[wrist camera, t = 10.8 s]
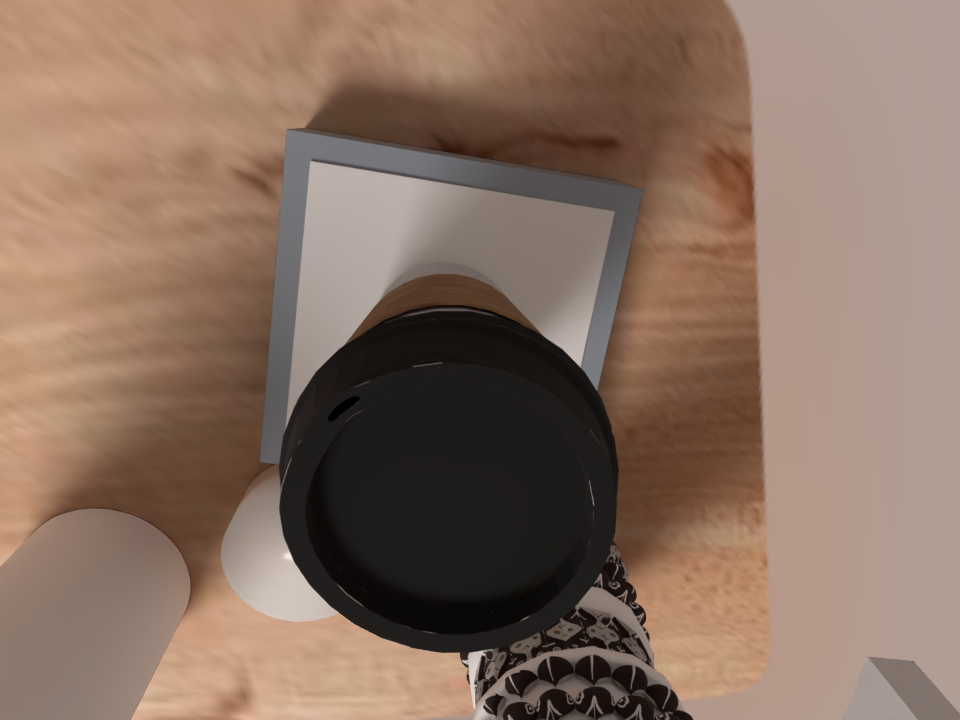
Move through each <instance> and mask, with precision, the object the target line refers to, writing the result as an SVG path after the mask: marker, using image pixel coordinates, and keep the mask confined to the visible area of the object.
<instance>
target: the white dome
mask: <svg viewBox="0 0 960 720" xmlns="http://www.w3.org/2000/svg"><path fill="white" fill-rule="evenodd" d="M280 492H281V487H280V476H279V464H275V465H272V466H271V467H269V468H267V469H266V470H264V471H263V472H262V473H260V474H259V475H258V476H257V477H256V478H255V479H254V480H253V481H252V483H251V484H250V486H249V487H248V488H247V490H246V492H245V494H244V496H243V498H242V500H241V502H240V504H239V506H238V508H237V510H236V512H235V514H234V516H233V518H232V520H231V522H230V524H229V526H228V528H227V530H226V532H225V535H224V538H223V541H222V547H221V562H222V568H223V571H224V574H225V577H226V579H227V581H228V583H229V585H230V586H231V587H232V589H233V590H234V592H235V593H236V594H237V595H238V596H239V597H240V598H241V599H242V600H243V601H244V602H245V603H246V604H248V605H249V606H251V607H252V608H254V609H255V610H257V611H259V612H261V613H263V614H265V615H268V616H270V617H273V618H277V619H281V620H286V621H297V622H304V621H314V620H320V619H323V618H327V617H330V616H332V615H334V614H337V613H339V612H337V611H336V610H335V609H333V608H332V607H330V606H329V605H328V604H327V603H326V601H325V600H324V599H323V598H322V597H321V596H320V595H319V594H318V593H317V592H316V591H315V590H314V589H313V588H312V587H311V586H310V585H309V583H308V582H307V581H306V579H305V578H304V576H303V575H302V573H301V572H300V570H299V569H298V567H297V566H296V564H295V563H294V561H293V559H292V556H291V554H290V551H289V549H288V546H287V544H286V542H285V539H284V537H283V531H282V525H281V519H280V513H279V503H280Z"/></svg>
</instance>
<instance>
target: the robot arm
mask: <svg viewBox="0 0 960 720" xmlns="http://www.w3.org/2000/svg"><path fill="white" fill-rule="evenodd" d="M843 720H960V714H959V712H958V711H957V710H956V709H955V708H954V707H953V706H952V704H950V702H949V701H948V700H947V699H946V698H945V697H944V695H943V694H942V693H941V692H940V691H939V690H938V688H937V687H936V686H935V685H934V684H933V683H932V682H931V680H930V679H929V678H928V677H927V676H926V675H925V674H924V672H922V670H921V669H920V668H919V667H918V666H917V665H916V663H915V662H914V661H906V660H896V659H885V658H875V657H867V660H866V662H865V665H864V667H863V670H862V672H861V675H860V677H859V680H858V682H857V685H856V687H855V690H854V692H853V695H852V697H851V700H850V702H849V705H848V707H847V710H846V712H845V715H844V717H843Z"/></svg>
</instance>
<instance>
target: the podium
mask: <svg viewBox="0 0 960 720" xmlns="http://www.w3.org/2000/svg"><path fill="white" fill-rule="evenodd" d="M642 194H643V190H642V189H639V188H636V187H633V186H631V185H628V184H625V183H622V182H619V181H613V180H607V179H601V178H596V177H590V176H584V175H578V174H572V173H566V172H560V171H555V170H549V169H543V168H537V167H531V166H525V165H519V164H514V163H508V162H502V161H496V160H490V159H484V158H479V157H473V156H467V155H461V154H455V153H449V152H443V151H438V150H432V149H426V148H420V147H414V146H408V145H402V144H397V143H391V142H385V141H379V140H373V139H367V138H361V137H356V136H350V135H344V134H338V133H332V132H326V131H320V130H315V129H309V128H297V129H287V134H286V146H285V158H284V170H283V182H282V195H281V207H280V219H279V231H278V243H277V256H276V268H275V280H274V292H273V304H272V317H271V329H270V341H269V353H268V365H267V378H266V390H265V402H264V414H263V426H262V439H261V451H260V462H263V463H271V464H279V461H280V454H281V447H282V439H283V435H284V432H285V430H286V427H287V424H288V422H289V419H290V416H291V414H292V411H293V408H294V406H295V405H296V403H297V400H298V398H299V397H300V395H301V394H302V392H303V391H304V389H305V387H306V386H307V384H308V383H309V381H310V380H311V378H312V377H313V375H314V374H315V372H316V371H317V370H318V369H319V368H320V367H321V366H322V365H323V364H324V363H325V362H326V361H327V360H328V359H329V358H330V357H331V356H332V355H333V354H334V353H335V352H337V351H338V350H339V349H340V348H341V347H343V346H344V345H345V343H346V342H347V341H348V340H349V338H350V337H351V336H352V334H353V333H354V332H355V331H356V329H357V328H358V327H359V326H360V324H361V323H362V322H363V320H364V319H365V318H366V317H367V315H368V314H369V313H370V312H371V310H372V309H373V308H374V307H375V305H376V304H377V303H378V302H379V301H380V299H381V298H382V296H383V295H384V293H385V292H386V290H387V289H388V288H389V287H390V286H391V285H392V284H393V283H394V282H395V281H396V280H397V279H398V278H400V277H401V276H403V275H404V274H406V273H407V272H409V271H411V270H414V269H416V268H419V267H421V266H424V265H429V264H435V263H454V264H459V265H463V266H467V267H469V268H472V269H474V270H476V271H479V272H480V273H482V274H483V275H485V276H486V277H488V278H489V279H491V280H492V281H493V282H494V283H495V284H496V285H497V286H498V287H499V288H500V289H501V290H502V291H503V293H504V294H505V295H506V297H507V298H508V299H509V300H510V301H511V302H512V303H513V304H514V305H515V306H516V307H517V308H518V309H519V310H520V312H521V313H522V314H523V315H524V316H525V317H526V318H527V319H528V320H529V321H530V322H531V323H532V324H533V325H534V326H535V327H536V329H537V330H538V331H539V332H540V333H541V334H542V335H543V336H544V337H545V338H547V339H548V340H550V341H551V342H553V343H554V344H556V345H557V346H559V347H560V348H562V349H563V350H564V351H565V352H566V353H567V354H568V355H569V356H570V357H571V358H572V359H573V360H574V361H575V362H576V363H577V364H578V365H579V366H580V367H581V368H582V369H583V370H584V371H585V373H586V374H587V376H588V378H589V379H590V381H591V382H592V384H593V386H594V387H595V389H596V390H597V389H598V385H599V380H600V376H601V372H602V367H603V363H604V359H605V354H606V350H607V346H608V341H609V337H610V333H611V328H612V324H613V320H614V315H615V311H616V307H617V302H618V298H619V294H620V289H621V285H622V281H623V276H624V272H625V267H626V263H627V259H628V254H629V250H630V246H631V241H632V237H633V233H634V228H635V224H636V220H637V215H638V211H639V207H640V202H641V198H642Z"/></svg>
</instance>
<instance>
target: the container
mask: <svg viewBox="0 0 960 720" xmlns="http://www.w3.org/2000/svg"><path fill="white" fill-rule="evenodd" d="M190 593H191V590H190V576H189V572H188V568H187V565H186V563H185V561H184V559H183V557H182V555H181V553H180V552H179V550H178V549H177V547H176V546H175V545H174V544H173V542H172V541H171V540H170V539H169V538H168V537H167V536H166V535H165V534H164V533H162V532H161V531H160V530H159V529H157V528H156V527H154V526H153V525H151V524H150V523H148V522H146V521H144V520H142V519H140V518H138V517H136V516H133V515H130V514H127V513H124V512H119V511H115V510H110V509H96V508H91V509H80V510H75V511H71V512H67V513H64V514H60V515H58V516H56V517H54V518H52V519H50V520H48V521H47V522H45V523H44V524H42V525H41V526H40V527H39V528H38V529H37V530H35V531H34V532H33V533H32V535H31V536H30V537H29V538H28V539H27V540H26V541H25V542H24V543H23V544H22V545H21V546H20V547H19V548H18V549H17V550H16V551H15V552H14V553H13V554H12V555H11V556H10V557H9V558H8V559H7V560H6V562H5V563H4V564H3V565H2V566H1V567H0V720H131V718H132V716H133V714H134V712H135V710H136V708H137V706H138V704H139V702H140V700H141V698H142V696H143V694H144V692H145V690H146V688H147V686H148V685H149V683H150V681H151V679H152V677H153V675H154V673H155V671H156V669H157V667H158V665H159V663H160V661H161V659H162V657H163V655H164V653H165V651H166V649H167V647H168V645H169V643H170V641H171V639H172V637H173V635H174V633H175V631H176V629H177V627H178V625H179V623H180V621H181V619H182V617H183V615H184V613H185V611H186V608H187V606H188V602H189V597H190Z"/></svg>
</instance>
